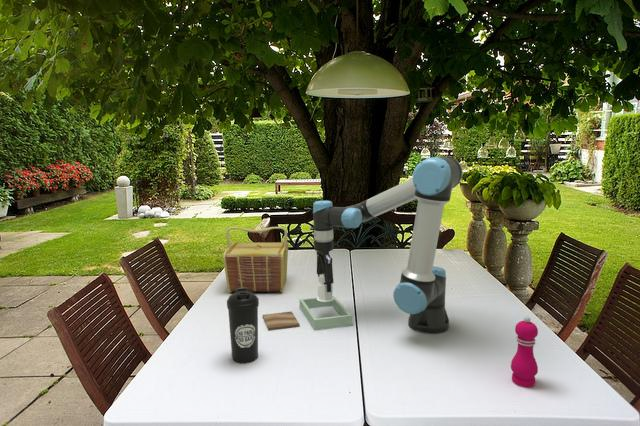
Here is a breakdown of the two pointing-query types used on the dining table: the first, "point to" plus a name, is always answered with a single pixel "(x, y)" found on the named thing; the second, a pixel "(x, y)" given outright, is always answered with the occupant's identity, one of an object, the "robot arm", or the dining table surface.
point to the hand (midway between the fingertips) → (325, 296)
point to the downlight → (322, 289)
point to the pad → (280, 321)
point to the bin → (327, 322)
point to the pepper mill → (525, 354)
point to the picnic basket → (256, 264)
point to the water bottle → (243, 325)
